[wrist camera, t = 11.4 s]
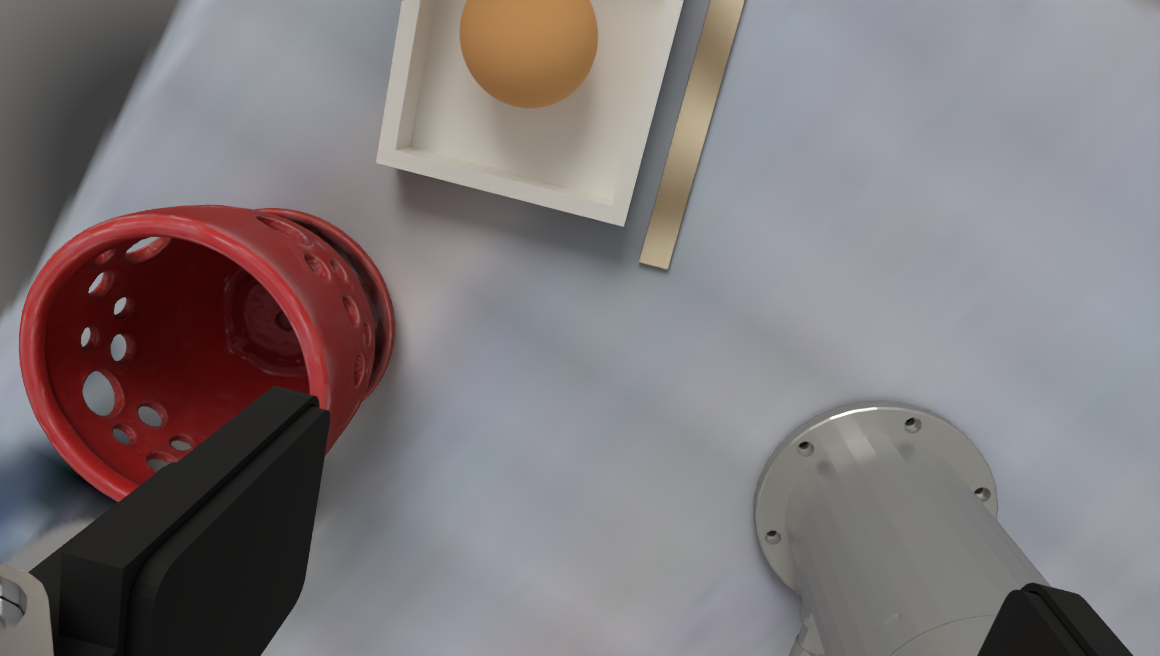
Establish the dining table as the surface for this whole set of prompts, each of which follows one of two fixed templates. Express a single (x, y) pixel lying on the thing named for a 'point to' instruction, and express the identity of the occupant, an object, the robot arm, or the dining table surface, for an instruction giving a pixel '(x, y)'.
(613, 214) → the tray
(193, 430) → the plant pot
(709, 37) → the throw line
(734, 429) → the dining table surface
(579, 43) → the ball
